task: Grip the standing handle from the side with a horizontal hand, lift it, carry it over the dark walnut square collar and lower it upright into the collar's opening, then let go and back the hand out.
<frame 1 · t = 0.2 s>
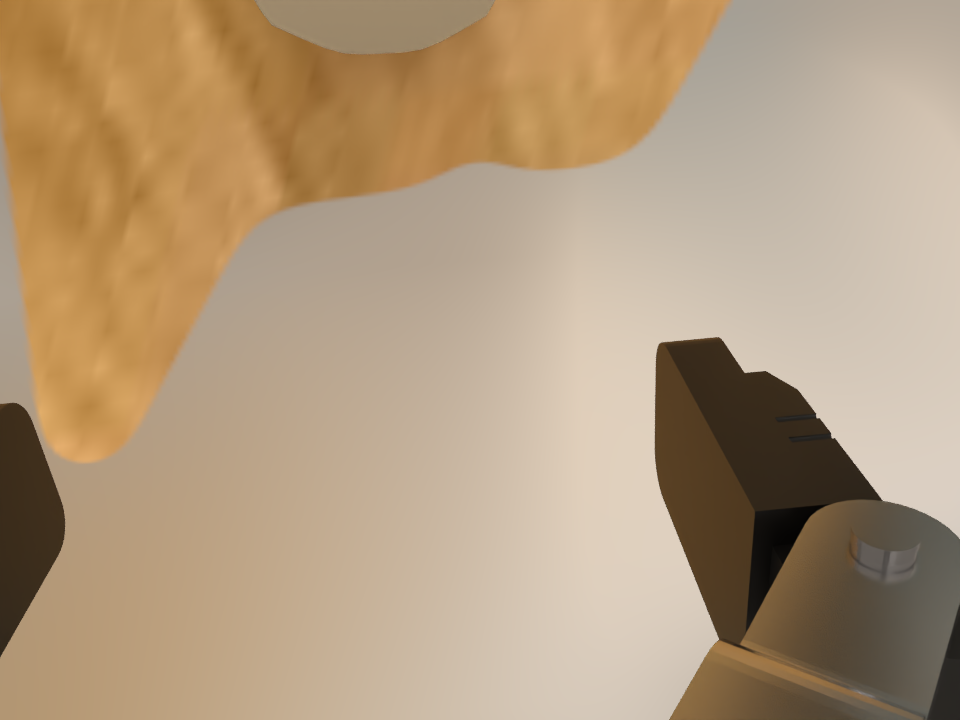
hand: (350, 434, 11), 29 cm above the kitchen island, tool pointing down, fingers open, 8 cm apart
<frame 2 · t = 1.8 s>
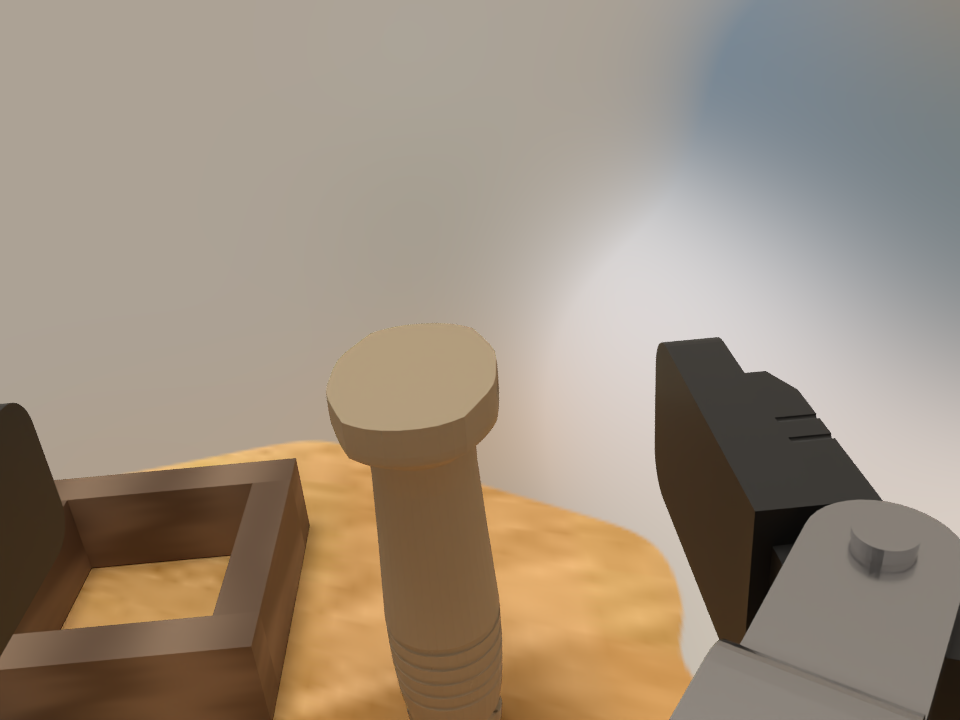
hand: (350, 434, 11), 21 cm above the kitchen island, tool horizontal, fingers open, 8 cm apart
socket: (156, 623, 39), on the kitchen island
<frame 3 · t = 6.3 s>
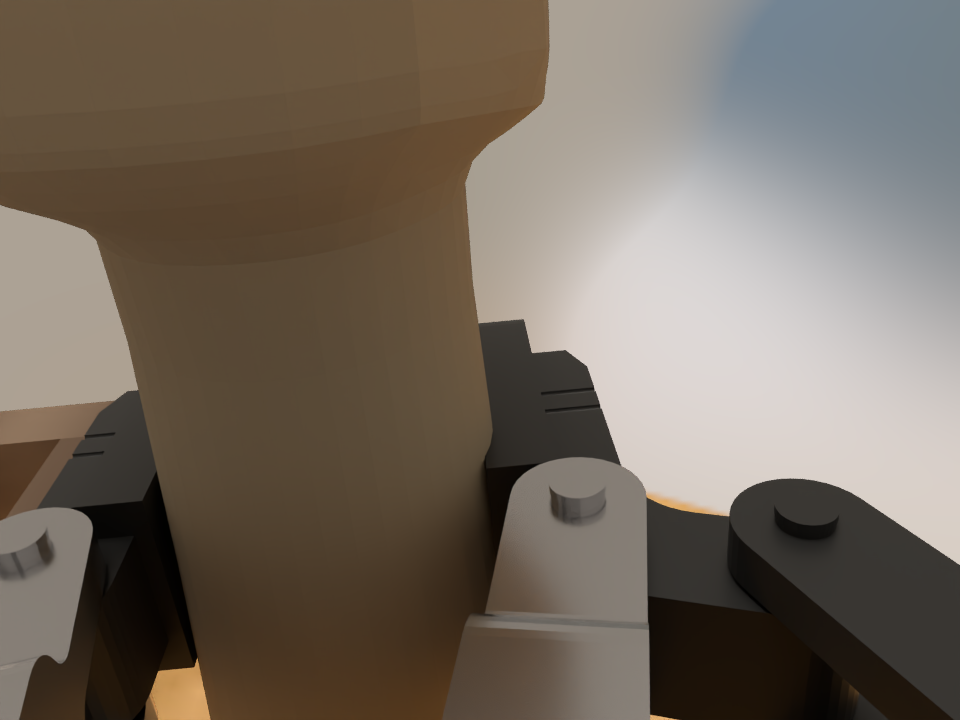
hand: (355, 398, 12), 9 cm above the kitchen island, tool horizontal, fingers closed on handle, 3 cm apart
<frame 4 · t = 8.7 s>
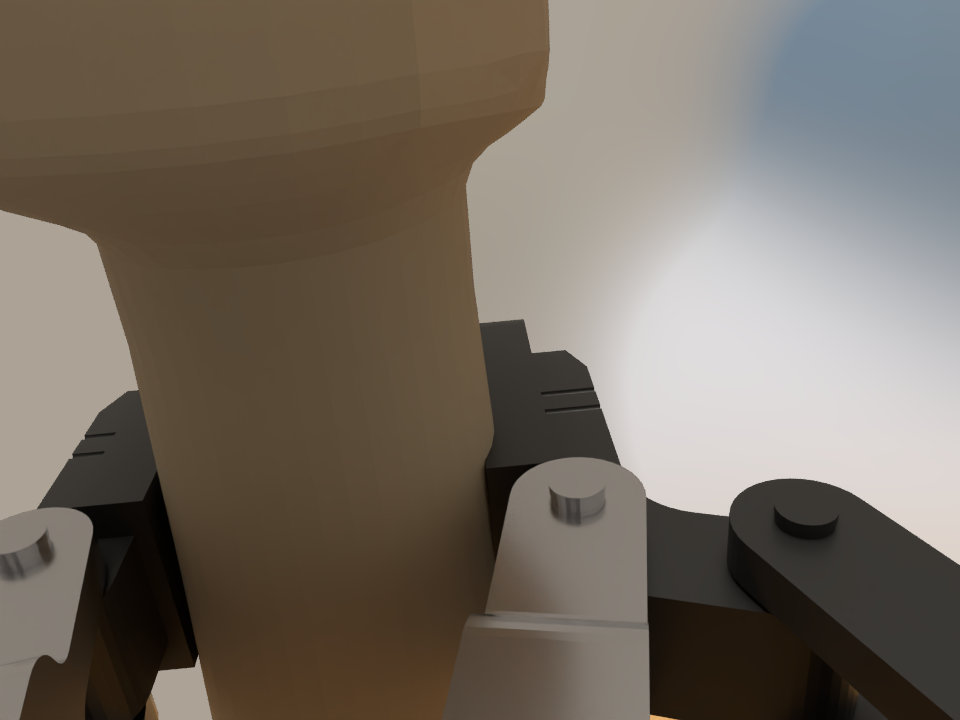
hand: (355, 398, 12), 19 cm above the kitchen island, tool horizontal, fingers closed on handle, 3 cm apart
when the fingers open (10 cm above the kitchen island, at t = 11.3 s): handle drops 1 cm, resting in socket.
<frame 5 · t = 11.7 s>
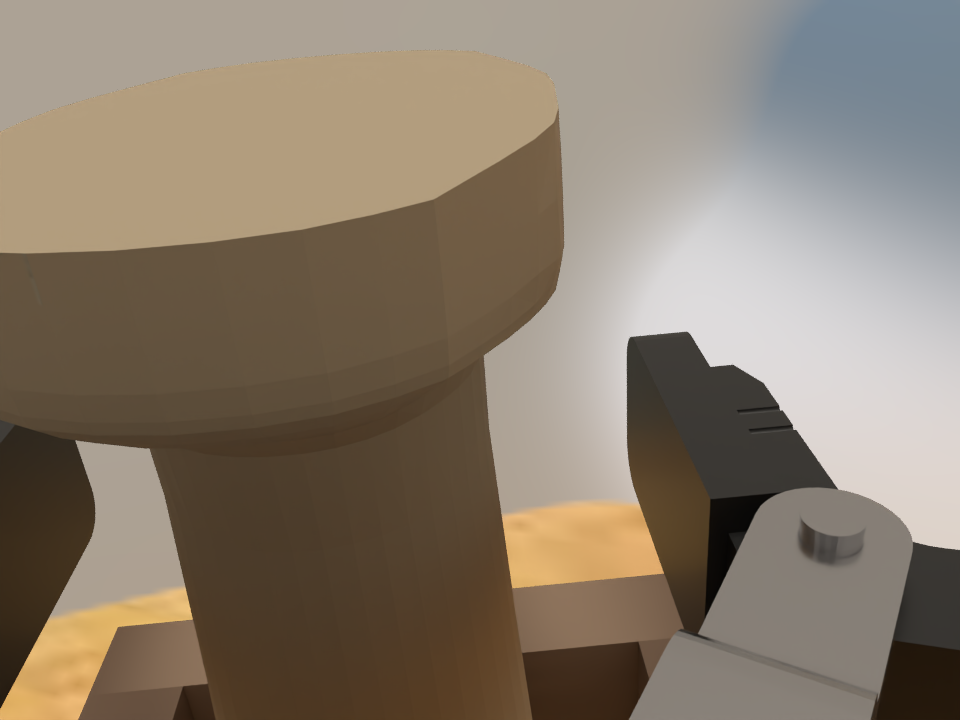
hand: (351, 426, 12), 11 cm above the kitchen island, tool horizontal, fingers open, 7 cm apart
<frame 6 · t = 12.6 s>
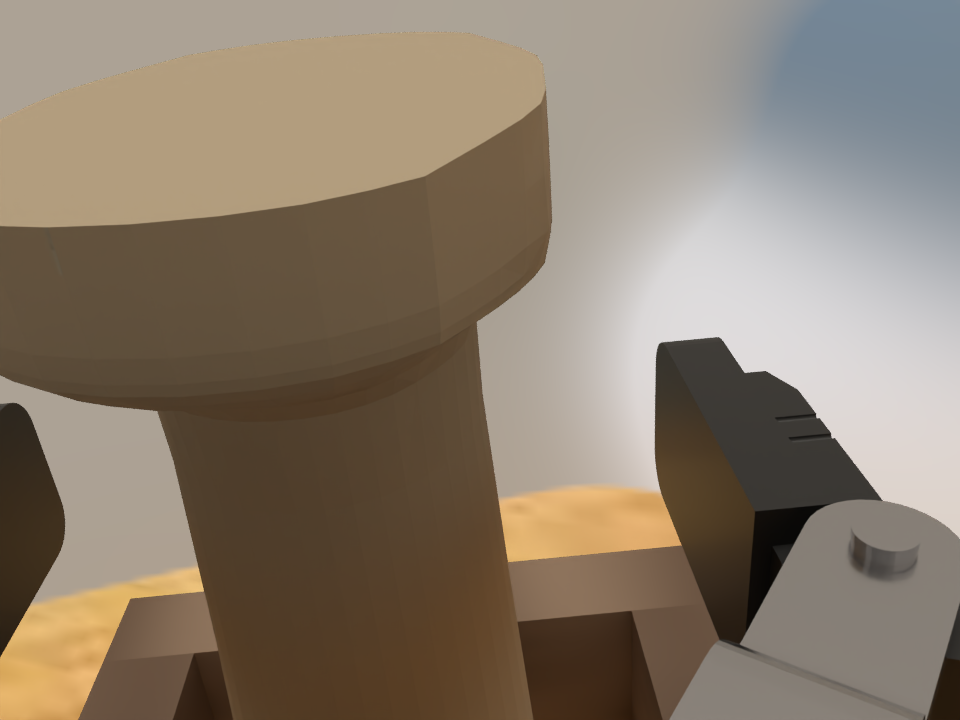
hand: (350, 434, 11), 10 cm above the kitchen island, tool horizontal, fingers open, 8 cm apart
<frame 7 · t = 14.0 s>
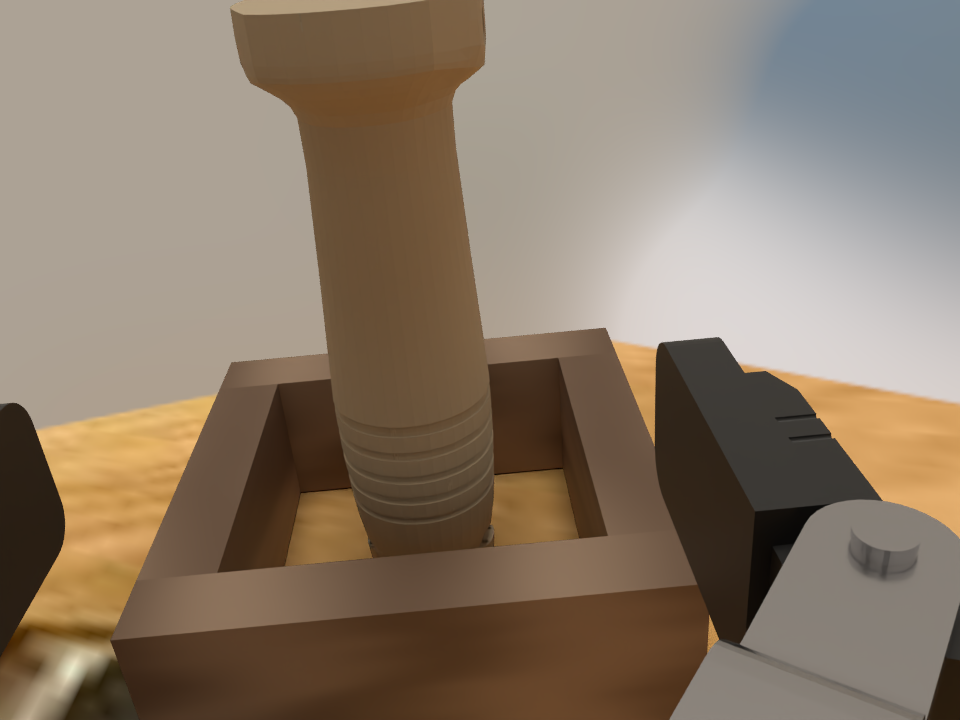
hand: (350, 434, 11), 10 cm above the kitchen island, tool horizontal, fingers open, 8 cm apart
socket: (431, 567, 25), on the kitchen island
handle: (436, 576, 25), resting in socket
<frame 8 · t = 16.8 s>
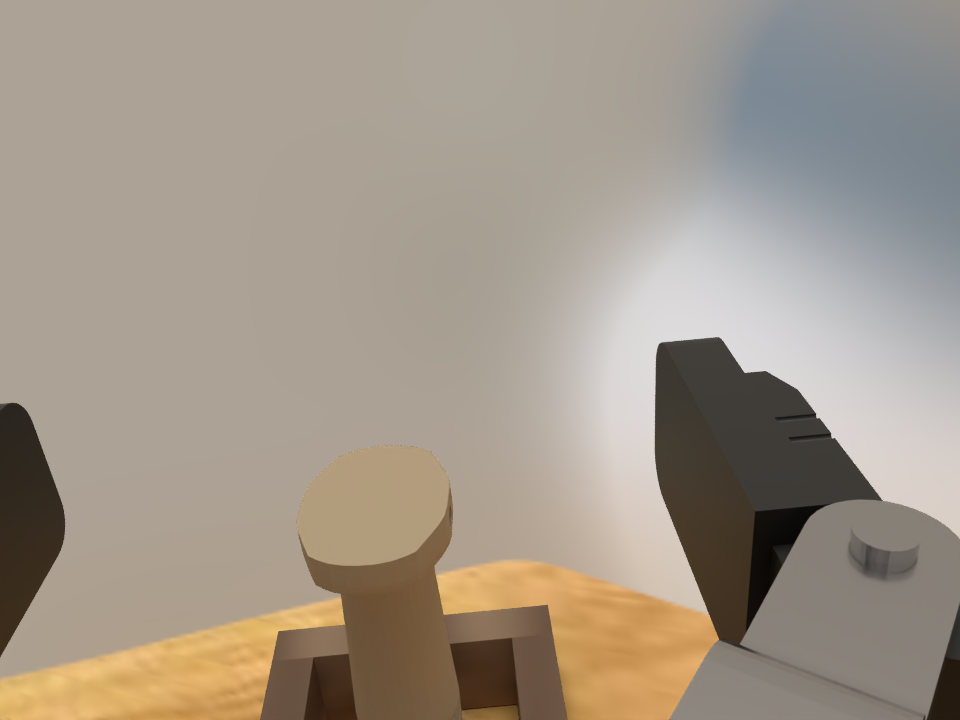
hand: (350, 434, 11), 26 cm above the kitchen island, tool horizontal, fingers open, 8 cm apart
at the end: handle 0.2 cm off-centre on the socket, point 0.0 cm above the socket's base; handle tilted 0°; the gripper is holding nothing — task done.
